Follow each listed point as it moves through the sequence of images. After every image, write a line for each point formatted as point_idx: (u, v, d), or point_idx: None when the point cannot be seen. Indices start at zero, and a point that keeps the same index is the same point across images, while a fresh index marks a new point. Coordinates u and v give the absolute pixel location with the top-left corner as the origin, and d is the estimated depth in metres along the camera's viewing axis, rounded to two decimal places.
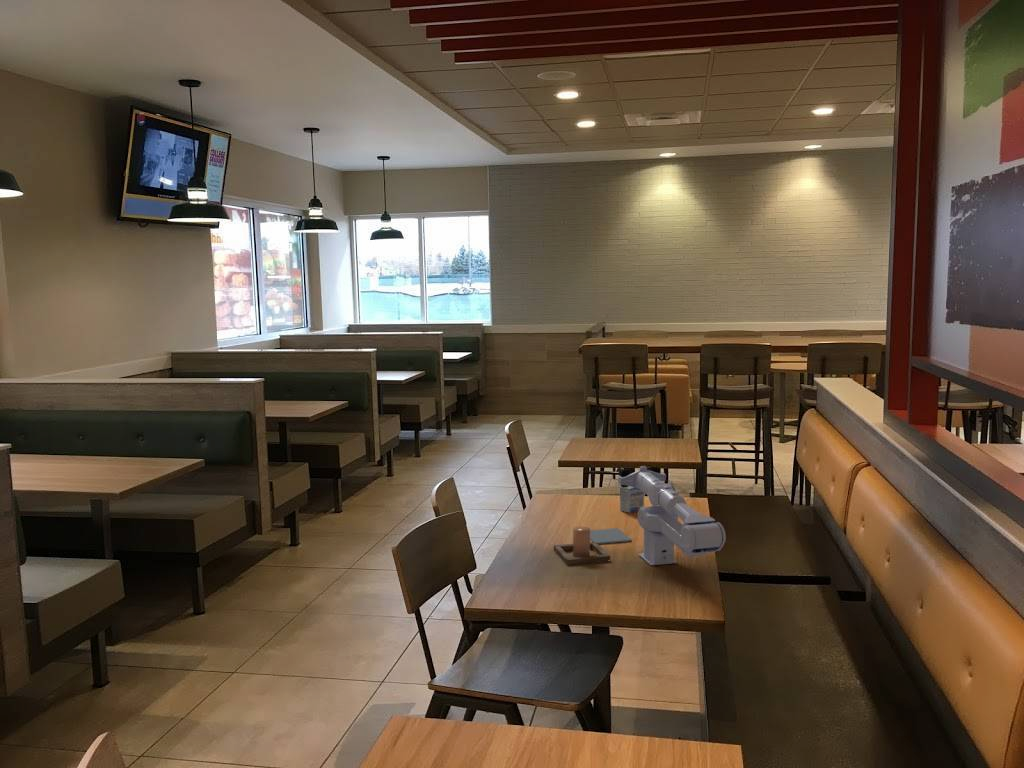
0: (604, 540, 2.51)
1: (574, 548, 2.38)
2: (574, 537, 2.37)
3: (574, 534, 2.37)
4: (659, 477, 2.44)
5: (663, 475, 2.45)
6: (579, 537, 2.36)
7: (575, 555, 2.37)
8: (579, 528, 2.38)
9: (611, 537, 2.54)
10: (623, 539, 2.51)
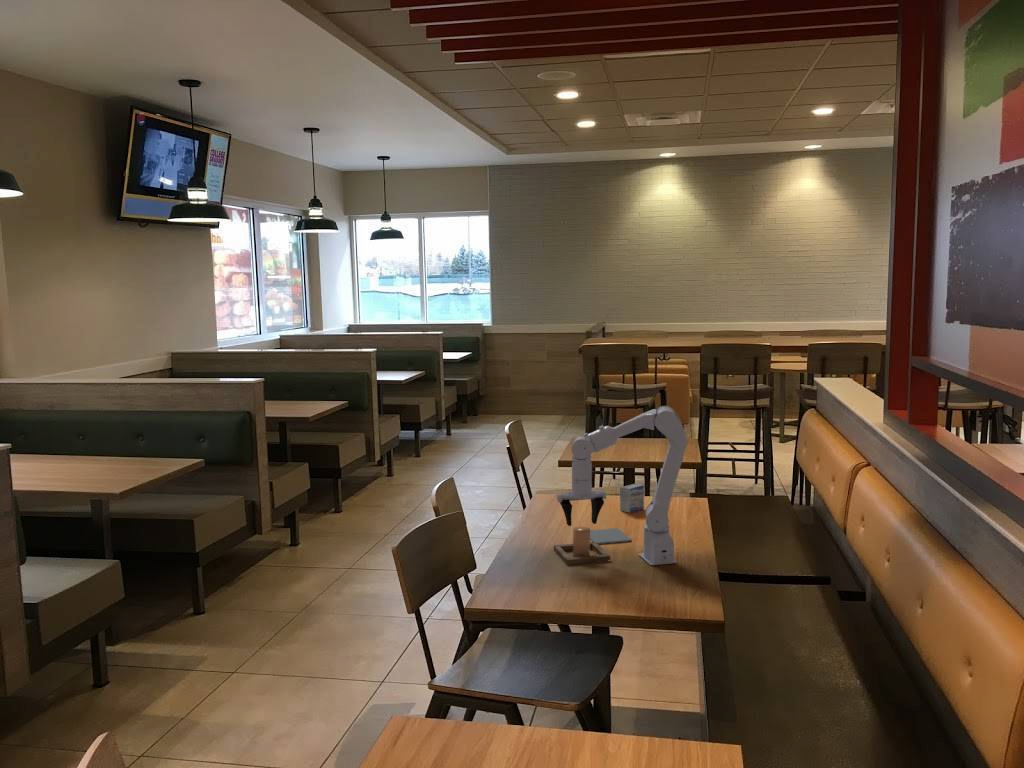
0: (604, 540, 2.51)
1: (574, 548, 2.38)
2: (574, 537, 2.37)
3: (574, 534, 2.37)
4: (564, 495, 2.35)
5: None
6: (579, 537, 2.36)
7: (575, 555, 2.37)
8: (579, 528, 2.38)
9: (611, 537, 2.54)
10: (623, 539, 2.51)
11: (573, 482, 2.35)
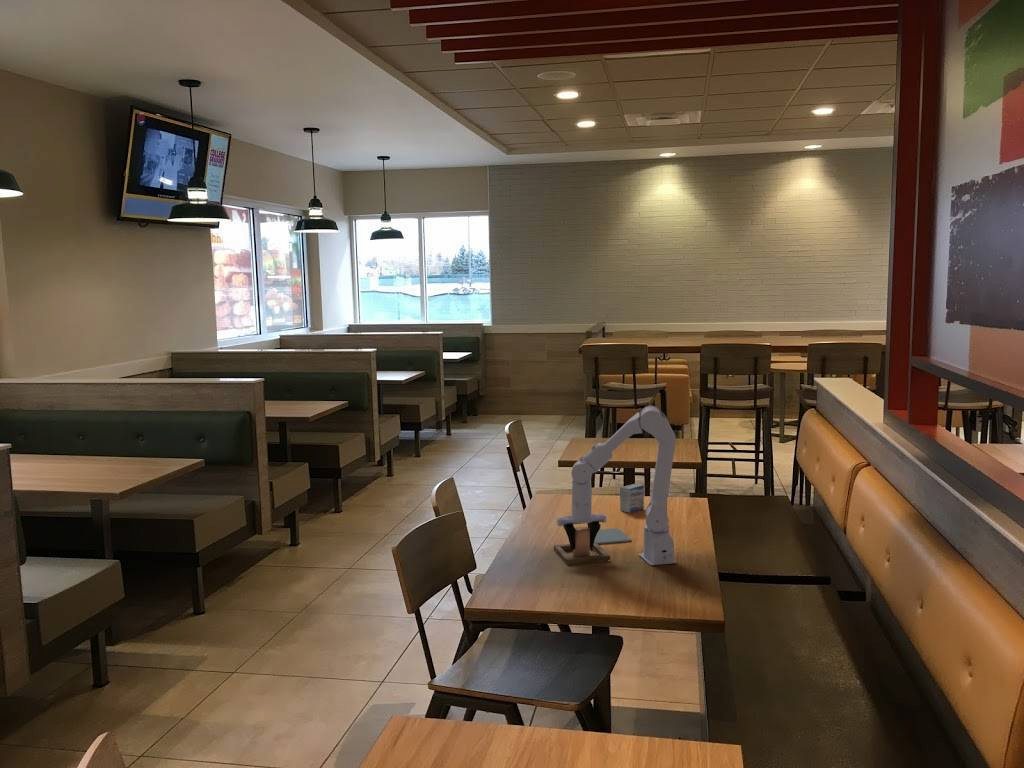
0: (604, 540, 2.51)
1: None
2: None
3: None
4: (564, 519, 2.36)
5: None
6: (579, 537, 2.36)
7: (575, 555, 2.37)
8: (578, 528, 2.38)
9: (611, 537, 2.54)
10: (623, 539, 2.51)
11: (573, 506, 2.36)
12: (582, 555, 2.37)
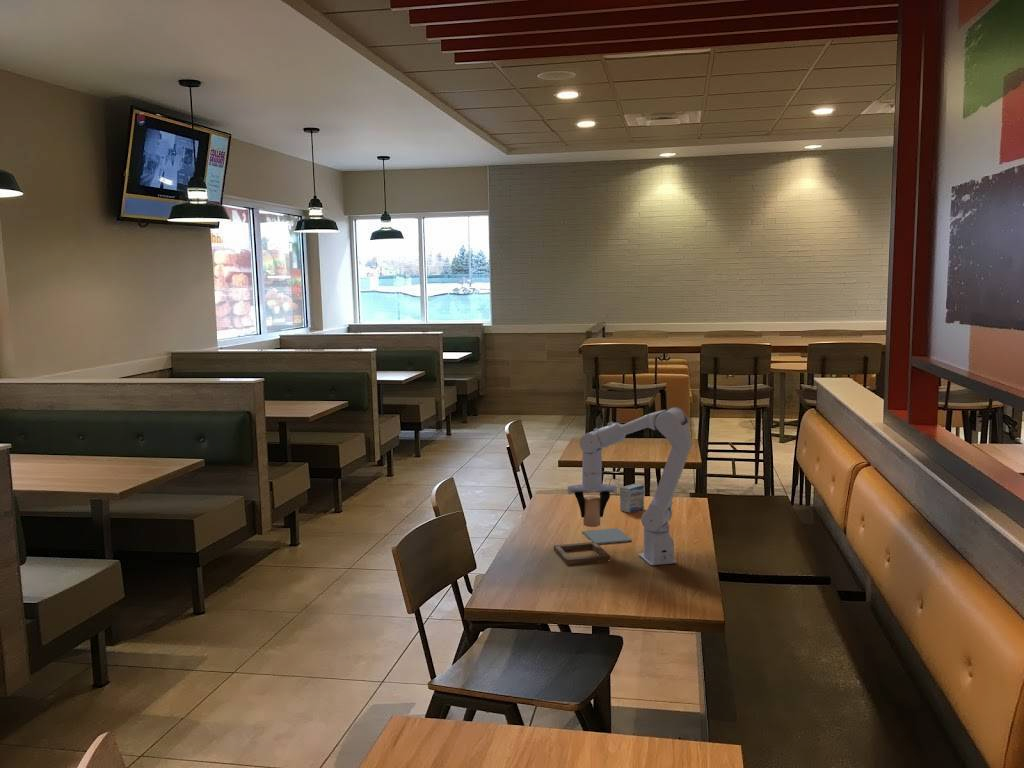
0: (604, 540, 2.51)
1: (584, 516, 2.43)
2: (584, 505, 2.43)
3: (584, 503, 2.43)
4: (574, 487, 2.43)
5: None
6: (588, 505, 2.41)
7: (584, 523, 2.43)
8: (589, 498, 2.44)
9: (611, 537, 2.54)
10: (623, 539, 2.51)
11: (583, 475, 2.42)
12: (590, 524, 2.42)
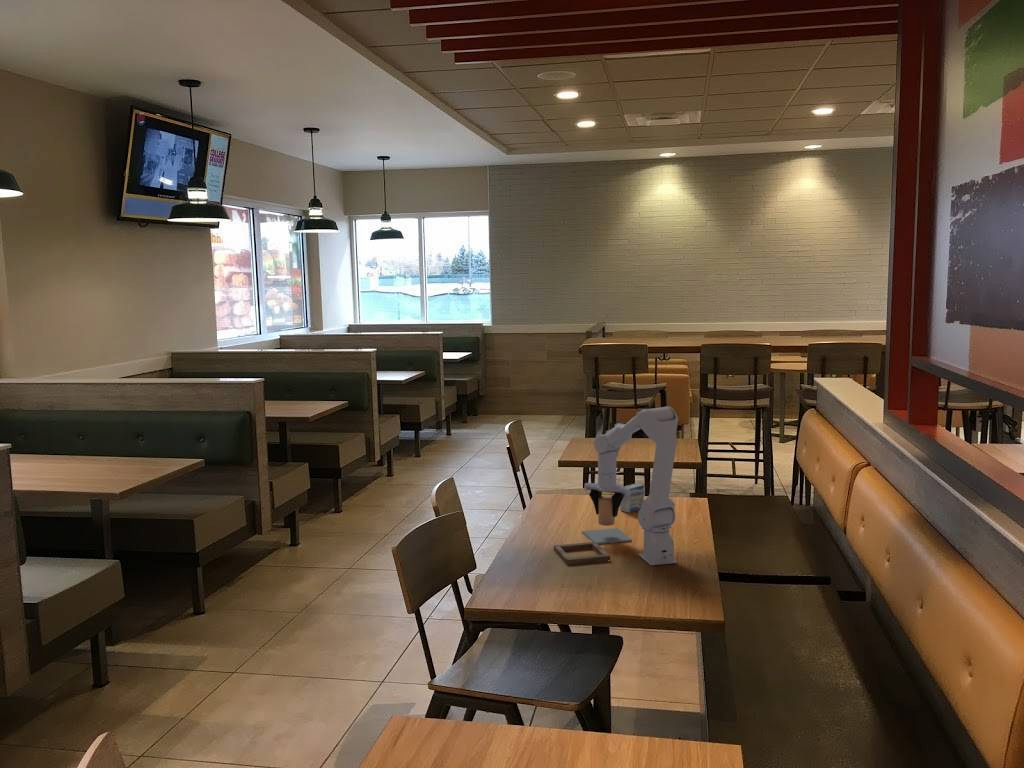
0: (604, 540, 2.51)
1: None
2: None
3: None
4: (591, 484, 2.56)
5: None
6: (599, 504, 2.53)
7: (598, 521, 2.55)
8: (605, 497, 2.54)
9: (611, 537, 2.54)
10: (623, 539, 2.51)
11: None
12: (601, 522, 2.53)
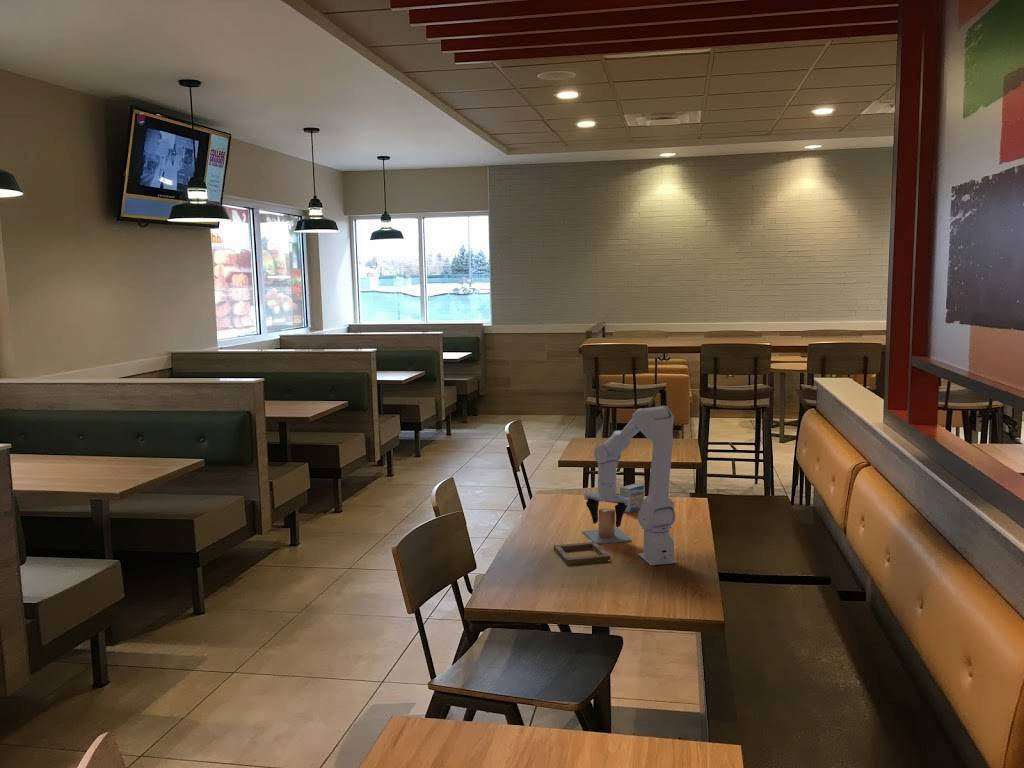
0: (604, 540, 2.51)
1: None
2: None
3: None
4: (591, 494, 2.56)
5: None
6: (600, 516, 2.53)
7: (598, 533, 2.56)
8: (605, 509, 2.55)
9: (611, 537, 2.54)
10: (623, 539, 2.51)
11: None
12: (601, 534, 2.53)
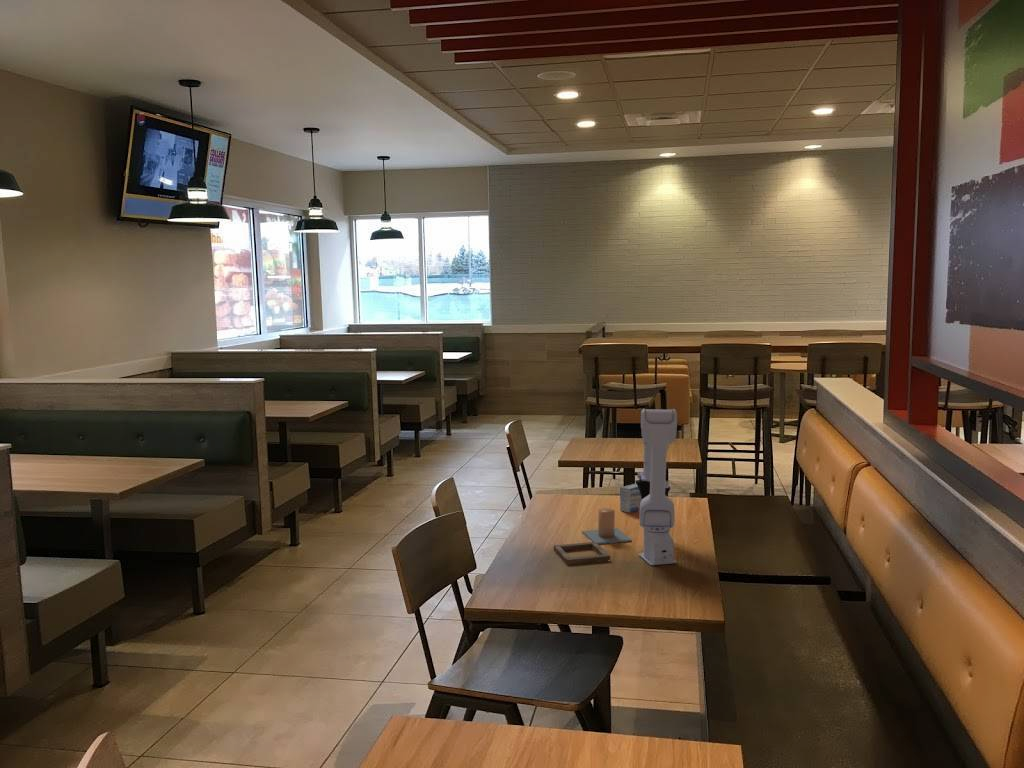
0: (604, 540, 2.51)
1: None
2: None
3: None
4: (643, 473, 2.60)
5: None
6: (599, 516, 2.53)
7: (598, 533, 2.56)
8: (605, 509, 2.55)
9: None
10: (623, 539, 2.51)
11: None
12: (601, 534, 2.54)
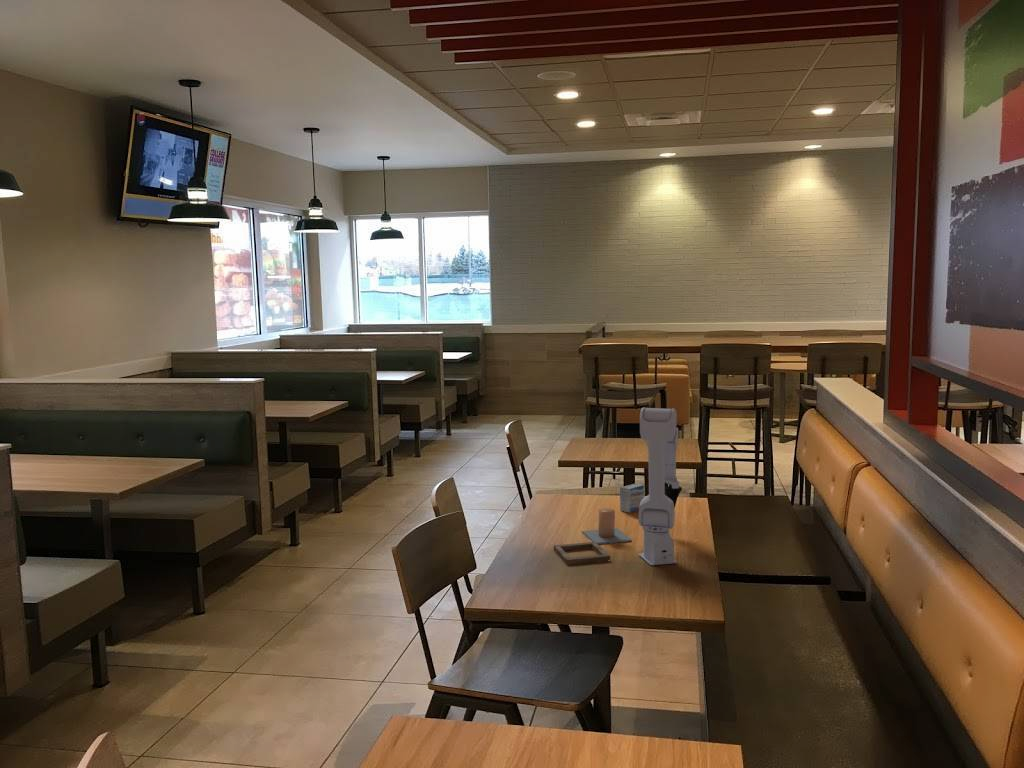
0: (604, 540, 2.51)
1: None
2: None
3: None
4: None
5: None
6: (600, 516, 2.53)
7: (598, 533, 2.56)
8: (605, 509, 2.55)
9: None
10: (623, 539, 2.51)
11: None
12: (601, 534, 2.54)
